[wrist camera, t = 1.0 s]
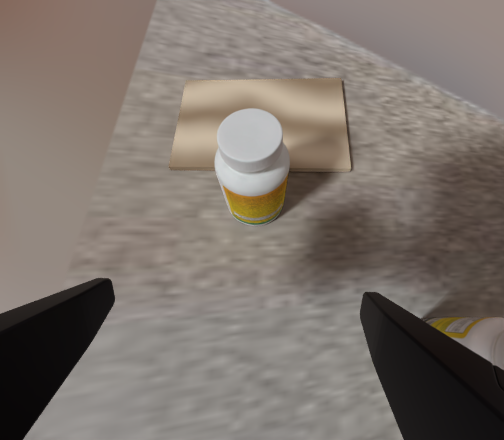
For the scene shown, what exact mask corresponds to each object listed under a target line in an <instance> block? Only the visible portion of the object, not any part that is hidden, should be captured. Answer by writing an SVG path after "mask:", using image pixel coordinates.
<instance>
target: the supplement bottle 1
mask: <svg viewBox="0 0 504 440" xmlns="http://www.w3.org/2000/svg"><path fill="white" fill-rule="evenodd" d="M217 142H218V146H219V148H218V149H217V152H216V155H215V161H214V163H215V171H216V174H217V177H218V180H219V183H220V186H221V189H222V191H223V194H224V197H225V200H226V203H227V206H228V208H229V211H230V212H231V214H232V215H233V217H234V218H235V219H236V220H238V221H239V222H241V223H243V224H246V225H250V226H261V225H265V224H268V223H270V222H271V221H273V220H274V219H276V218H277V216H278V215H279V214H280V212H281V210H282V207H283V204H284V198H285V192H286V186H287V179H288V174H289V168H290V157H289V153H288V150H287V147H286V145H285V144H284V143H283V131H282V127H281V124H280V122H279V121H278V119H277V118H276V117H275V116H273V115H272V114H271V113H269V112H267V111H264V110H261V109H256V108H248V109H243V110H239V111H236V112H234V113H232V114H230V115H229V116H228V117H226V118H225V119H224V120H223V122H222V123H221V124H220V126H219V129H218V132H217Z"/></svg>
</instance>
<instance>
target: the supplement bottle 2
mask: <svg viewBox="0 0 504 440" xmlns="http://www.w3.org/2000/svg"><path fill="white" fill-rule="evenodd" d="M423 321H425V322H426V323H428V324H430V325H431V326H433V327H434V328H436V329H438V330H439V331H441V332H443V333H444V334H446V335H447V336H449V337H451V338H452V339H454V340H456V341H457V342H459V343H460V344H462V345H464V346H465V347H467V348H469V349H470V350H472V351H473V352H475V353H477V354H478V355H480V356H482V357H483V358H485V359H486V360H488V361H490V362H491V363H492V364H493V365H496V366H498V367H500V368H501V369H503V370H504V318H502V317H445V318H444V317H442V318H428V319H424V320H423Z"/></svg>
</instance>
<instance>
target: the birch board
mask: <svg viewBox="0 0 504 440" xmlns="http://www.w3.org/2000/svg"><path fill="white" fill-rule="evenodd" d="M248 108H256V109H261V110H264V111H267V112H269V113H271V114H272V115H273V116H275V117H276V118H277V119H278V121H279V122H280V124H281V127H282V131H283V143H284V144H285V145H286V147H287V150H288V153H289V157H290V168H289V171H300V172H350V170H351V163H350V154H349V145H348V136H347V127H346V118H345V109H344V100H343V91H342V82H341V78H318V79H257V80H197V81H186V83H185V88H184V93H183V98H182V103H181V108H180V113H179V118H178V123H177V128H176V133H175V138H174V143H173V148H172V153H171V158H170V163H169V168H170V170H207V171H215V163H214V161H215V155H216V152H217V149H218V148H219V146H218V142H217V132H218V129H219V126H220V124H221V123H222V122H223V120H224V119H225V118H226V117H228V116H229V115H230V114H232V113H234V112H236V111H239V110H243V109H248Z"/></svg>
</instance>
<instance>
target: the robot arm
mask: <svg viewBox="0 0 504 440" xmlns="http://www.w3.org/2000/svg"><path fill="white" fill-rule="evenodd" d="M114 302H115V295H114V290H113V285H112V281H111V280H110V279H108V278H96V279H94V280H91V281H88V282H86V283H83V284H80V285H77V286H75V287H72V288H69V289H67V290H64V291H61V292H59V293H56V294H53V295H50V296H48V297H45V298H42V299H40V300H37V301H34V302H31V303H28V304H26V305H23V306H20V307H18V308H15V309H12V310H9V311H7V312H4V313H1V314H0V440H23V439H24V437H25V436H26V434H27V433H28V432H29V430H30V429H31V427H32V426H33V425H34V423H35V422H36V420H37V419H38V417H39V416H40V415H41V413H42V412H43V410H44V409H45V408H46V406H47V405H48V403H49V402H50V401H51V399H52V398H53V396H54V395H55V393H56V392H57V391H58V389H59V388H60V386H61V385H62V384H63V382H64V381H65V379H66V378H67V377H68V375H69V374H70V372H71V371H72V369H73V368H74V367H75V365H76V364H77V362H78V361H79V360H80V358H81V357H82V355H83V354H84V352H85V351H86V350H87V348H88V347H89V345H90V344H91V342H92V341H93V339H94V337H95V336H96V334H97V332H98V330H99V329H100V327H101V325H102V324H103V322H104V320H105V318H106V317H107V315H108V313H109V312H110V310H111V308H112V306H113V305H114ZM360 319H361V323H362V326H363V330H364V333H365V337H366V340H367V344H368V347H369V351H370V354H371V358H372V361H373V364H374V367H375V369H376V372H377V375H378V377H379V379H380V382H381V384H382V387H383V389H384V392H385V394H386V397H387V399H388V402H389V404H390V407H391V409H392V412H393V414H394V417H395V419H396V422H397V424H398V427H399V429H400V432H401V434H402V437H403V439H404V440H504V370H503V369H501V368H500V367H498V366H496V365H493V364H492V363H491V362H490V361H488V360H486V359H485V358H483V357H482V356H480V355H478V354H477V353H475V352H473V351H472V350H470V349H469V348H467V347H465V346H464V345H462V344H460V343H459V342H457V341H456V340H454V339H452V338H451V337H449V336H447V335H446V334H444V333H443V332H441V331H439V330H438V329H436V328H434V327H433V326H431V325H430V324H428V323H426V322H425V321H423V320H421V319H420V318H418V317H417V316H415V315H413V314H412V313H410V312H408V311H407V310H405V309H403V308H402V307H400V306H399V305H397V304H395V303H394V302H392V301H390V300H389V299H387V298H386V297H384V296H382V295H381V294H379V293H377V292H365V293H364V294H363V298H362V304H361V309H360Z"/></svg>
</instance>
